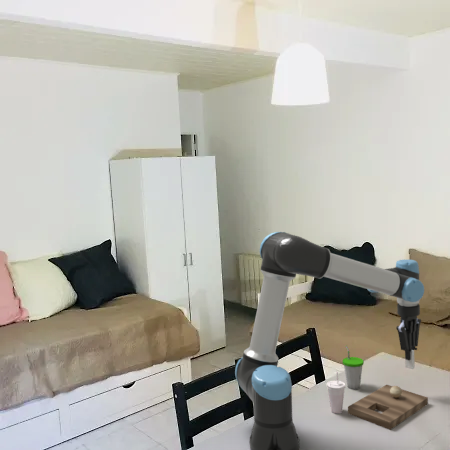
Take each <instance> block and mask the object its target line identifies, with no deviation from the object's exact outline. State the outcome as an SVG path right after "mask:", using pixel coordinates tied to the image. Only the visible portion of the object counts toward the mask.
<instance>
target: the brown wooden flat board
mask: <svg viewBox="0 0 450 450" xmlns="http://www.w3.org/2000/svg"><path fill="white" fill-rule="evenodd" d="M393 386H394V385H389V384H385V385H384V386H382V387H380V388H377V390H375V391H373V392H371V393H369V394H368V395H366V396H364V397H362V398H361V399H359V400H357V401H356V402H353V403H351V404H350V405H348V406H347V414H348V415H351V416H353V417H355V418H358V419H361V420H363V421H366V422H369V423H371V424H374V425H377V426H379V427H381V428H385V429H386V430H390V431H391V430H393V429H394V428H395V427H396V426H397V427H398V426H399V425H400V424H401V423H403V422H404V421H406V420H407V419H409V418H410V417H412V416H413V415H414V414H416V413H418V412H419V411H420V410H422V409H423V408H426V406H428V405H429V397H427V396H425V395H421V394H418V393H415V392H412V391H408V390H405V389H402V388H401V390H402V395H401V396H400V397H398V398H395V397H393V396H392V395H391V394H390V389H391V387H393Z"/></svg>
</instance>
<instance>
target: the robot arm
mask: <svg viewBox="0 0 450 450" xmlns="http://www.w3.org/2000/svg"><path fill="white" fill-rule="evenodd" d="M259 256H260V258H261V266H260V272H261V273H262V275H263V279H262V284H261V289H260V294H259V299H258V302H257V303H258V304H257V309H256V314H255V319H254V323H253V328H252V334H251V338H250V343H249V347H247V348H246V349H244V351H243V355H242V357H241V358H239V359H238V361H237V363H236V365H235V369H234V370H235V371H234V374H235V379H236V381H237V383H238V386H239V387H240V388H241V390H242V391H243V392H244V393H246V395H247V396H248V398H249V399H250V400H251V401H252V404H253V425H252V429H251V434H250V435H249V449H250V450H299V449H300V437H299V435H298V433H297V429H296V426H295V424H294V422H293V421H294V420H293V400H292V399H293V393H292V388H293V387H292V386H293V384H292V380H291V375H290V373H289V372H288V371H287V370H286V368H283V367H281V366H278V365H279V357H278V355H277V354H276V349H277V345H278V342H279V341H278V340H279V336H280V332H281V331H280V330H281V325H282V321H283V317H284V312H285V307H286V302H287V297H288V292H289V288H290V287H289V286H290V282H291V281H293V280H294V279H296V277H297V275H301V276H306V277H307V276H308V277H312V278H316V279H322V278H323V277H324V278H328V279H331V280H335V281H339V282H340V283H341V282H342V283H346V284H349V285H353V286H356V287H360V288H362V289H367V291H368V292H369V293H380V294H384V295H388V296H391V297H394V298H396V303H397V304H396V307H397V308H396V309H397V315H399V316H400V320H399V321H400V324H399V325H397V326H396V330H397V333H398V339H399V346H400V350H401V351H404V360H405V362H404V363H405V368H407V369H411V370H414V369H415V368H416V367H415V351H417V350H418V346H419V345H418V344H419V335H420V328H421V327H420V326H421V321H422V320H421V318H418V316H420V314H421V307H420V306H421V305H420V300H421V299H422V298H423V296H424V293H425V286H424V283H423V281H421V280H420V268H419V263H418V261H416V260H415V259H399V260H396V262H395V266H394V267H391V268H381V267H378V266H375V265H372V264H369V263H366V262H362V261H358V260H355V259H352V258H348V257H346V256H342V255H339V254H335V253H332V252H331V251H330V249H329V248H327V247H324V246H321V245H318V244H317V243H314V242H312V241H310V240H308V239H306V238H303V237H301V236H298V235H295V234H291V233H289V232H285V231H275V232H271V233H269V234H268V235H266V236H265V237H264V238H263V239H262V242H261V243H260V247H259Z"/></svg>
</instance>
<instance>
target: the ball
mask: <svg viewBox="0 0 450 450" xmlns="http://www.w3.org/2000/svg"><path fill="white" fill-rule="evenodd" d="M392 386H393V387H391V389H390V394H391V395H392V396H393V397H395V398H398V397H400V396H401V395H402V390H403V389H402V388H401V387H400V386H399V385H392ZM401 389H402V390H401Z"/></svg>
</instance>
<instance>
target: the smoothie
mask: <svg viewBox="0 0 450 450" xmlns="http://www.w3.org/2000/svg"><path fill="white" fill-rule="evenodd" d="M335 373H336V374H335V375H336V380H329V381H327V382H326V385H325V386H326V388H327V392H328V394H327V395H328V400H329V404H330V411H331V413H332V414H337V415H338V414H341V413H343V405H344V396H345V395H344V394H345V389H346V383H345V382H344V381H341V380H339V371H336V372H335Z"/></svg>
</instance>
